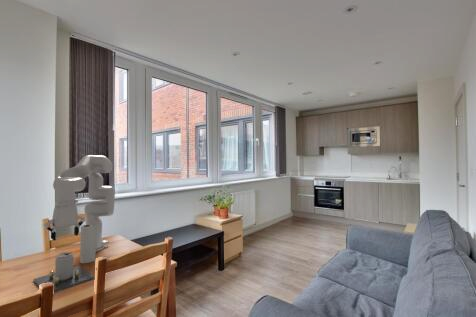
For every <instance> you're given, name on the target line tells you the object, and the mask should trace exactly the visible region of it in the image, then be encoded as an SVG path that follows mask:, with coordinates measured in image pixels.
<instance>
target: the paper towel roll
mask: <svg viewBox="0 0 476 317" xmlns="http://www.w3.org/2000/svg"><path fill="white" fill-rule="evenodd" d="M79 249H80V250H79V253H80V255H79V263H80V264H88V263H92V262H95V261H96V255H97V254H96V253H97V252H96V226H93V225H86V224H85V225H83V224H82V225H81V226H80V248H79Z"/></svg>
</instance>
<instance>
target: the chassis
mask: <svg viewBox="0 0 476 317" xmlns="http://www.w3.org/2000/svg"><path fill="white" fill-rule="evenodd" d="M94 279H95V276H94V275H92V274H91V273H90V272H88V271H86V269H84V268H82V267H81V266H80V265H77V266H73V276H71V278H69V279H67V280H62V281H59V276H56V277H55V272H54V270H50V271H49V274H46V275H43V276H39V277H35V278H33V283H34V284H35V285H36V286H37V287H38V288H39V285H40V284H42V283H47V282H52V283H53V284H54V293H57V292H59V290H60V291H62V290H63V291H64V290H65V289H68V288H72V287H74V286H77V285H80V284H84V283H86V282H88V281H89V282H90V281H92V280H94ZM85 281H86V282H85Z"/></svg>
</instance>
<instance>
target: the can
mask: <svg viewBox="0 0 476 317" xmlns="http://www.w3.org/2000/svg"><path fill="white" fill-rule="evenodd" d="M74 258H75V256H74V255H73V253H72V251H71V252H69V251H68V252H67V251H65V252H61V253H58V254H57V257H55V265H54V266H55V269H54V270H55V272H54V273H55V277H56V276H59V281H62V280H67V279H69V278H71V276H73V267H74V263H75V262H74V260H75V259H74Z"/></svg>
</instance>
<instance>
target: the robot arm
mask: <svg viewBox="0 0 476 317" xmlns="http://www.w3.org/2000/svg"><path fill="white" fill-rule="evenodd" d="M113 167H114V166H113V162H112V161H111V160H110V159H109V158H108V157H107V156H105V155H98V154H97V155H93V154H89V155H84V156H83V157H82V158H81V160H79V162H78V163H77V164H76V165H75V166H72V167H70V168H68V169H64V170H63V171H61V172H60V173H59V174H58V175H57V176H56V177H55V179H54V180H53V183H52V188H53V190H54V191H56V206H55V207H54V209H53V211H52V212H53V213H52V219H51V220H48V221H47V222H46V223H44V226H43V227H44V228H46V230H48V231H49V232H50V239H51V241H52V240H53V241H56V240H57V239H56V238H57V232H56V230H57V229H60V228H64V227H65V228H66V227H71V226H74V228H73V234H74V236H78V235H79V233H80V228H81V226H83V224H84V221H85V225H93V226H96V253H97V252H100V251H102V250H104V248H105V245H109V244H110V241H109V240H103V239H102V238H103V236H102V234H103V222H102V220H101V218H100V217H111V216H113V214H114V212H115V195H116V192H115V188H114V186H112V185H104V177H103V176H102V174H109V173H112V170H113V169H114V168H113ZM84 178H88V181H89V182H88V195H87V196H88V199H89V200H92V201H91V202H88V203H86V204H85V205H84V208H83V210H84V217H83V216H79V214H78V207H77V205H76V203H79V200H77V199H76V192H82V191H83V190H84V189H85V188H86V184H87V183H86V180H85V179H84ZM95 201H96V202H95ZM103 201H104V202H103ZM79 220H80V221H79ZM51 224H52V227H50V225H51Z"/></svg>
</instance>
